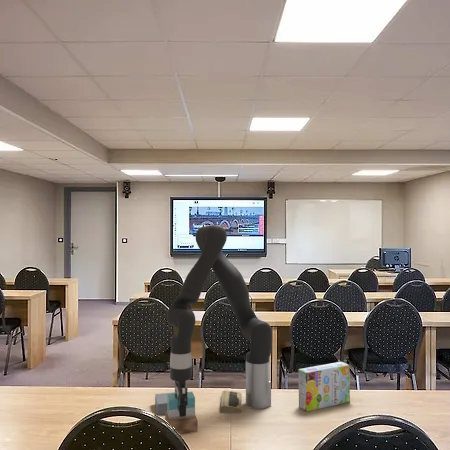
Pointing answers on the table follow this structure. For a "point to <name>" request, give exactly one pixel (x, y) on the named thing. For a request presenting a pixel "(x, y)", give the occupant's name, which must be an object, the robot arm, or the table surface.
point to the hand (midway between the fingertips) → (180, 411)
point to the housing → (174, 406)
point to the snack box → (324, 386)
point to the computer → (231, 402)
